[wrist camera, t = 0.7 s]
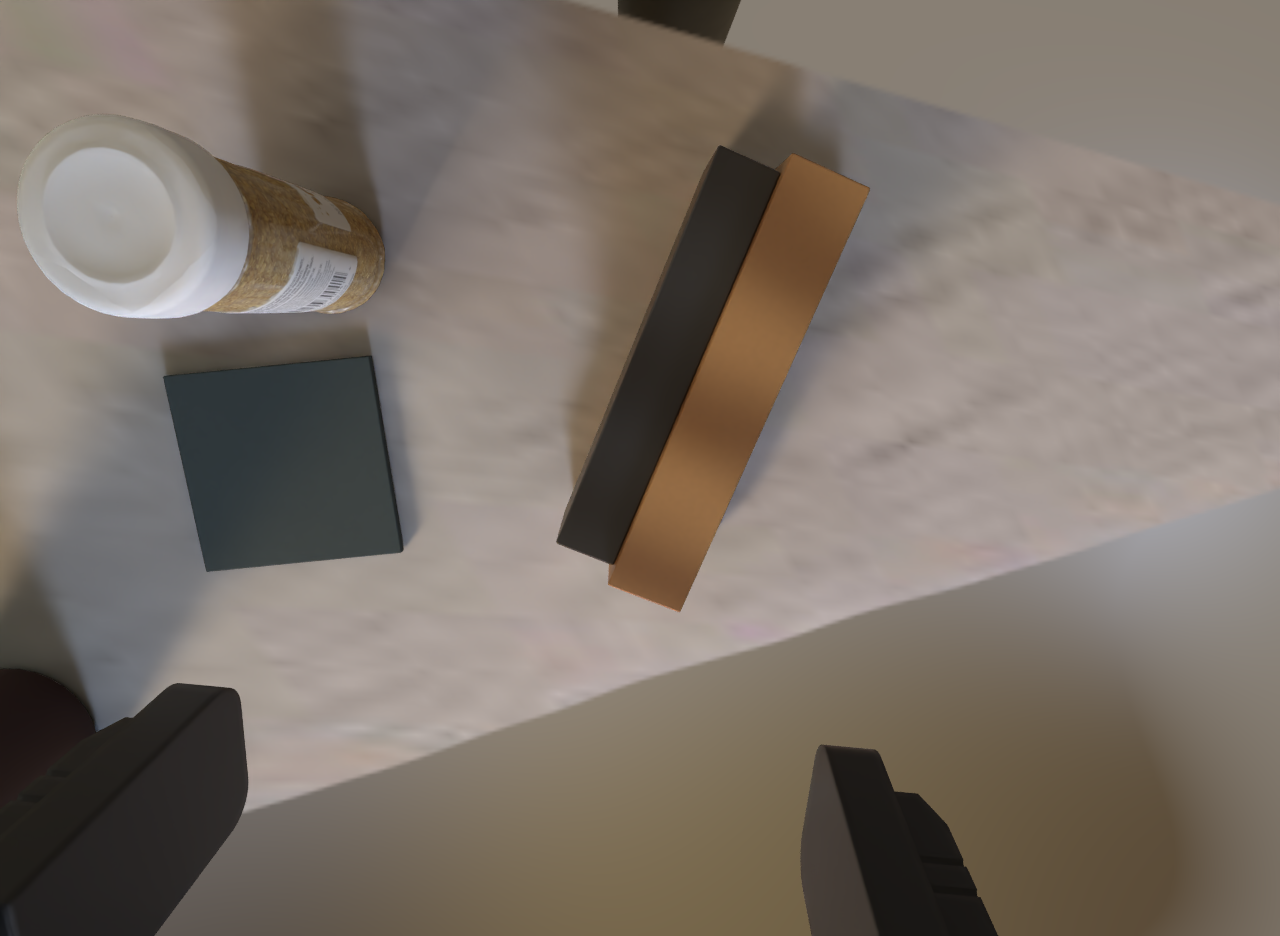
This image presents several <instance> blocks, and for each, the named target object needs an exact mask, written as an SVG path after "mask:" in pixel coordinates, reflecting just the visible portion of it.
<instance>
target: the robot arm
mask: <svg viewBox="0 0 1280 936" xmlns="http://www.w3.org/2000/svg"><path fill="white" fill-rule="evenodd" d="M247 792H248V771H247V761H246V750H245V740H244V730H243V719H242V709H241V701H240V697H239V695H238V693H237V692H236V691H235V690H234V689H232V688H225V687H214V686H204V685H193V684H182V683H176V684H173V685H171V686H169V687H168V688H166V689H165V690H164V691H163V692H162V693H160V694H159V695H158V696H157V697H156V698H155V699H154V700H153V701H151V702H150V703H149V704H148V705H147V706H146V707H145V708H144V709H142V710H141V711H140V712H139V713H138V714H137V715H136V716H135V717H133V718H128V717H125V718H123V719H121V720H119V721H117V722H115V723H114V724H112V725H110V726H108V727H106V728H104V729H102V730H100V731H98V732H96V733H94V734H93V735H91V736H89V737H87V738H85V739H83V740H81V741H80V742H79V743H78V744H76V745H75V746H74V747H73V748H72V749H71V750H69V751H68V752H67V753H66V754H65V755H64V756H62V757H61V758H60V759H59V760H58V761H56V762H55V763H54V764H53V765H52V766H51V767H49V768H48V769H47V773H46V775H45V776H42V775H40V776H39V777H38V778H36V779H35V780H34V781H33V782H32V783H30V784H29V785H28V786H27V787H26V788H25V789H23V790H22V791H21V792H20V793H19V794H18V798H17V799H16V801H12V800H10V801H9V802H8V803H7V804H6V805H5V806H3V807H2V808H1V809H0V936H154V935H155V934H156V933H157V931H158V930H159V929H160V927H161V926H162V925H163V923H164V922H165V921H166V919H167V918H168V917H169V915H170V914H171V913H172V911H173V910H174V908H175V907H176V906H177V905H178V903H179V902H180V901H181V899H182V898H183V897H184V895H185V894H186V893H187V891H188V890H189V889H190V887H191V886H192V885H193V883H194V882H195V880H196V879H197V878H198V877H199V875H200V874H201V872H202V871H203V870H204V868H205V867H206V866H207V864H208V863H209V862H210V860H211V859H212V858H213V856H214V855H215V854H216V852H217V851H218V850H219V848H220V847H221V846H222V844H223V843H224V842H225V840H226V839H227V838H228V836H229V835H230V833H231V832H232V831H233V829H234V828H235V826H236V824H237V823H238V820H239V818H240V816H241V814H242V811H243V808H244V805H245V802H246V797H247ZM801 879H802V887H803V892H804V898H805V903H806V908H807V913H808V918H809V923H810V929H811V934H812V936H998V935H997V932H996V930H995V928H994V926H993V924H992V921H991V919H990V917H989V915H988V913H987V911H986V908H985V906H984V904H983V902H982V900H981V898H980V897H977V889H976V886H975V884H974V882H973V880H972V878H971V875H970V873H969V871H968V869H967V867H964V865H963V858H962V856H961V854H960V852H959V849H958V847H957V845H956V843H955V840H954V838H953V836H952V834H951V832H950V830H949V827H948V826H947V824H946V823H945V822H944V821H943V820H942V819H941V818H940V817H939V816H938V814H937V813H936V812H935V811H934V810H933V809H932V808H931V807H930V806H929V805H928V804H927V803H926V802H925V801H924V800H923V799H922V798H921V797H920V795H918V794H915V793H904V792H894V790H893V787H892V784H891V782H890V779H889V777H888V774H887V771H886V769H885V766H884V764H883V761H882V759H881V756H880V754H879V753H878V751H876V750H873V749H863V748H852V747H841V746H831V745H820V746H819V747H818V749H817V752H816V756H815V761H814V767H813V774H812V779H811V785H810V791H809V797H808V802H807V808H806V814H805V821H804V826H803V832H802V839H801Z"/></svg>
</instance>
